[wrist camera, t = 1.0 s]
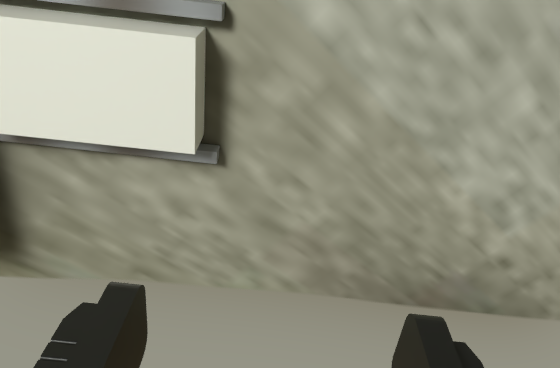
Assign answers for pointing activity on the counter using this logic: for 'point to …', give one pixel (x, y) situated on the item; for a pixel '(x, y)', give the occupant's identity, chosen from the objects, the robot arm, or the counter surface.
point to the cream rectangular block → (101, 79)
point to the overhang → (181, 3)
